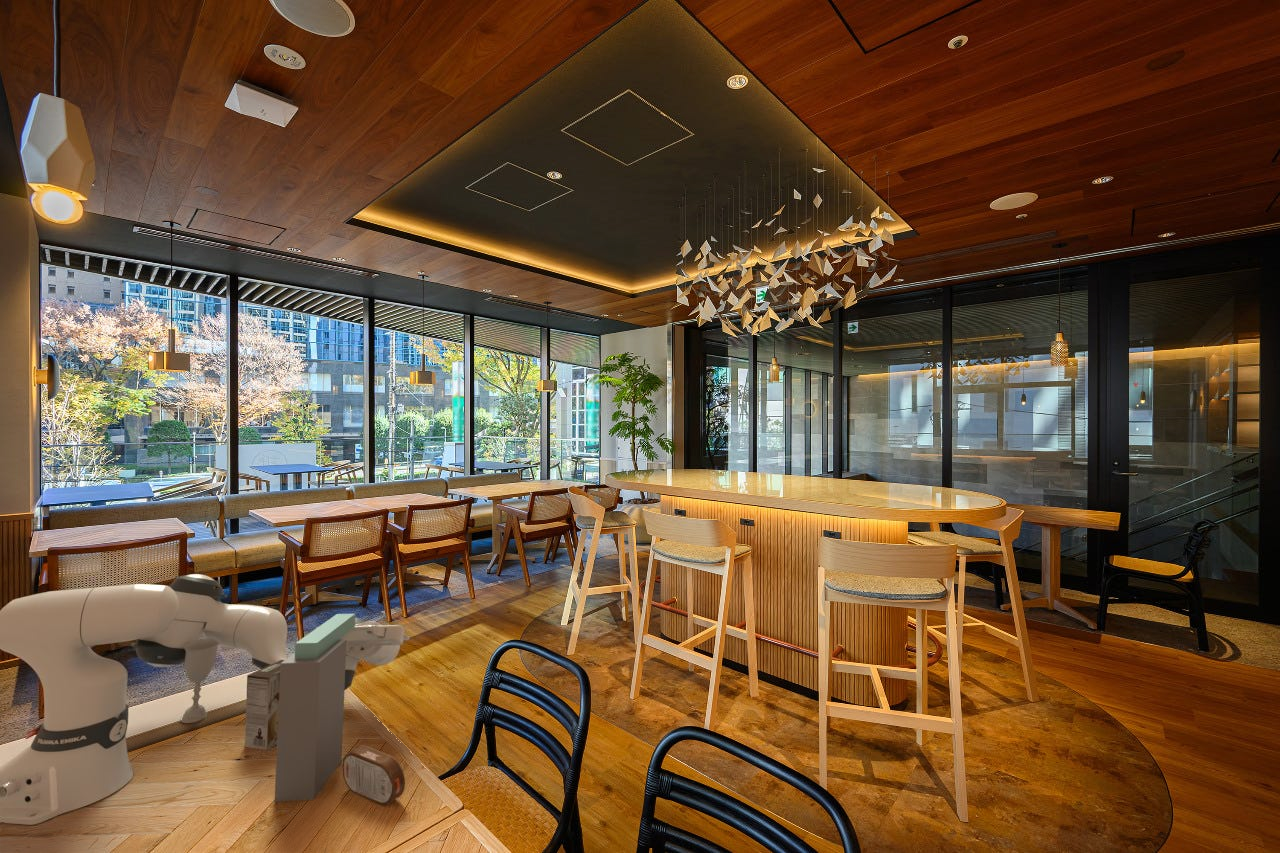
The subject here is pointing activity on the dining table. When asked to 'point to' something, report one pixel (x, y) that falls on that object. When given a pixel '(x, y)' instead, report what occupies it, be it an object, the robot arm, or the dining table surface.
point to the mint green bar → (324, 636)
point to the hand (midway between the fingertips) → (349, 629)
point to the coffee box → (262, 707)
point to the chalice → (198, 672)
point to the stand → (309, 723)
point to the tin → (373, 775)
